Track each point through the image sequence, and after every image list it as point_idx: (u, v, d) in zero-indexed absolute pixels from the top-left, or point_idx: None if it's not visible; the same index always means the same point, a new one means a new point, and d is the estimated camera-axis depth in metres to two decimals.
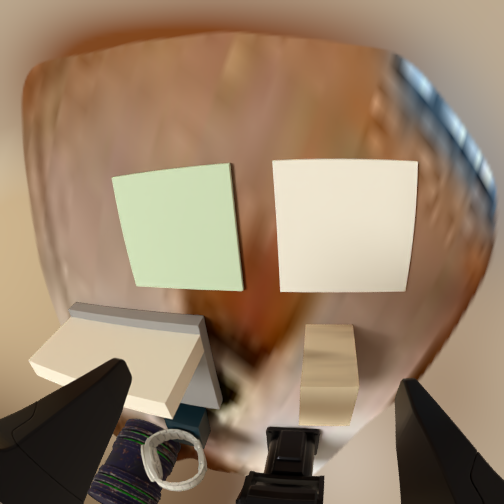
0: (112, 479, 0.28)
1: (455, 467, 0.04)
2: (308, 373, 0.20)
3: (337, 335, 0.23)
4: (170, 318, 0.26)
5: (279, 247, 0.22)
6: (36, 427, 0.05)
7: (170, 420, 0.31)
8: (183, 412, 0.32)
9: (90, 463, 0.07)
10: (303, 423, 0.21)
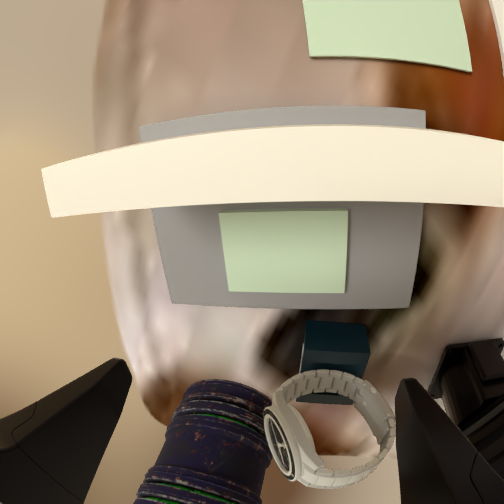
0: (183, 492, 0.15)
1: (455, 467, 0.04)
2: None
3: None
4: None
5: (500, 29, 0.09)
6: (36, 427, 0.05)
7: (316, 350, 0.18)
8: (333, 334, 0.19)
9: (90, 463, 0.07)
10: None
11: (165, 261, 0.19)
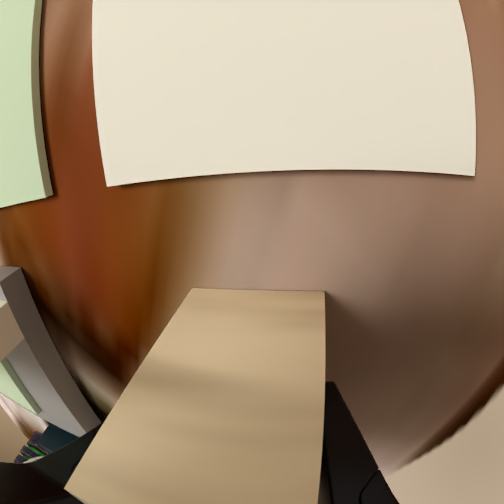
0: None
1: (348, 482, 0.04)
2: (112, 448, 0.04)
3: (269, 320, 0.07)
4: None
5: (95, 64, 0.06)
6: None
7: (44, 445, 0.15)
8: (62, 437, 0.16)
9: None
10: None
11: None
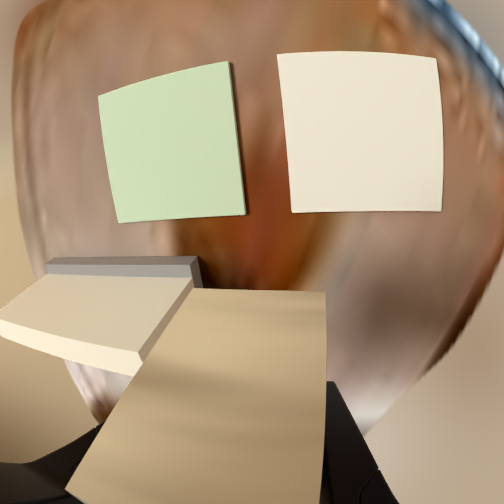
0: None
1: (348, 482, 0.04)
2: (113, 448, 0.04)
3: (270, 320, 0.07)
4: (157, 260, 0.22)
5: (288, 153, 0.17)
6: None
7: None
8: None
9: None
10: None
11: None
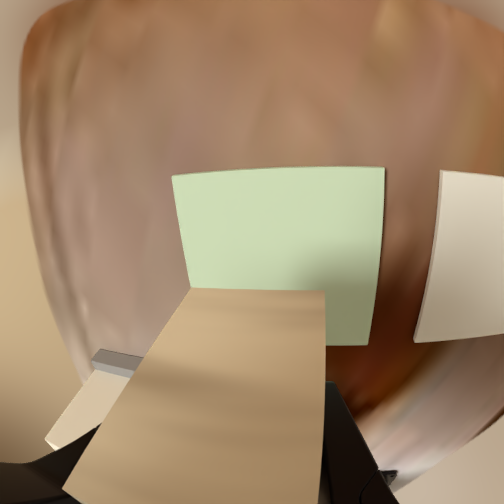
0: None
1: (348, 482, 0.04)
2: (110, 448, 0.04)
3: (269, 320, 0.07)
4: None
5: (429, 289, 0.14)
6: None
7: None
8: None
9: None
10: None
11: None
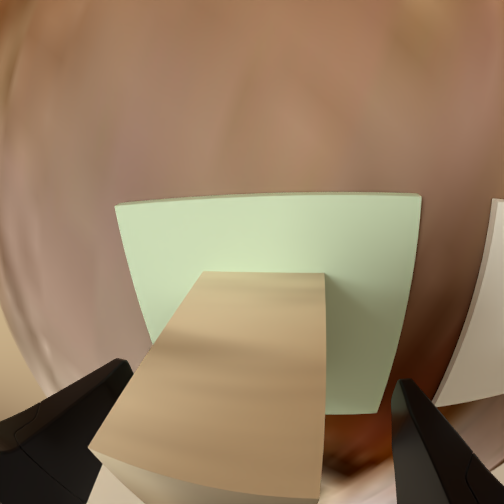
0: None
1: (450, 468, 0.04)
2: (135, 407, 0.05)
3: (275, 297, 0.08)
4: None
5: (460, 352, 0.10)
6: (39, 429, 0.05)
7: None
8: None
9: (93, 464, 0.07)
10: None
11: None
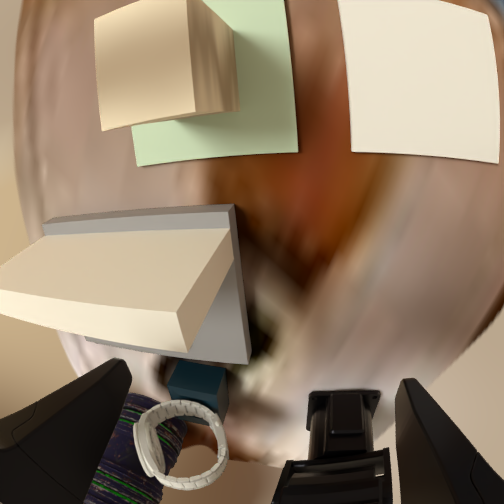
0: (96, 473, 0.20)
1: (455, 467, 0.04)
2: None
3: None
4: (184, 210, 0.18)
5: (350, 85, 0.14)
6: (36, 427, 0.05)
7: (175, 386, 0.23)
8: (194, 375, 0.24)
9: (90, 463, 0.07)
10: (107, 122, 0.10)
11: None
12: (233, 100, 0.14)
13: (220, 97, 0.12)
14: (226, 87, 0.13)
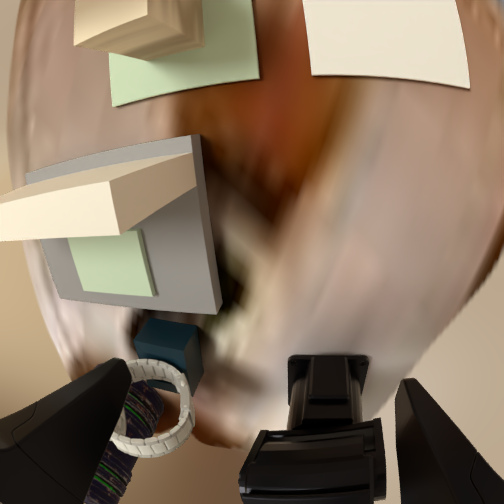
0: None
1: (455, 467, 0.04)
2: None
3: None
4: None
5: (306, 17, 0.13)
6: (36, 427, 0.05)
7: (142, 341, 0.22)
8: (163, 331, 0.23)
9: (90, 463, 0.07)
10: (79, 37, 0.09)
11: (50, 267, 0.23)
12: (196, 33, 0.13)
13: (179, 21, 0.11)
14: (187, 18, 0.12)
